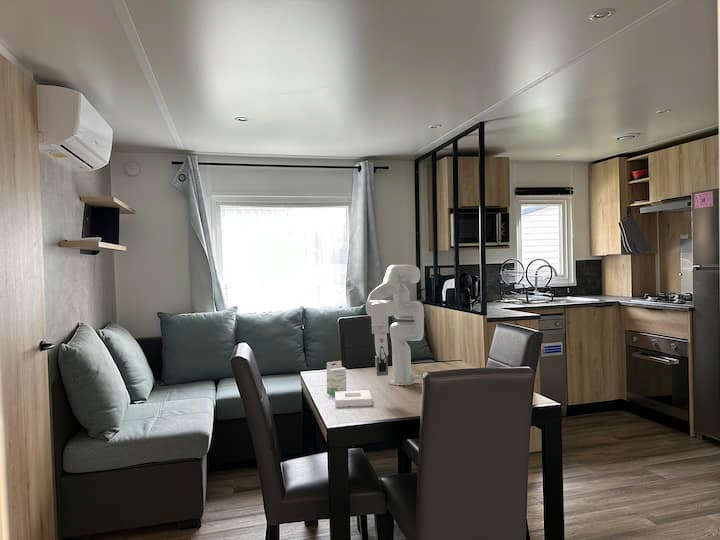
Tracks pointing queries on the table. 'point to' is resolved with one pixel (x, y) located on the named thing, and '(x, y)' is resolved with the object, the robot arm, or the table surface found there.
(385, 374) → the plug
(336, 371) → the ink box
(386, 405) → the table surface
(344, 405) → the socket
